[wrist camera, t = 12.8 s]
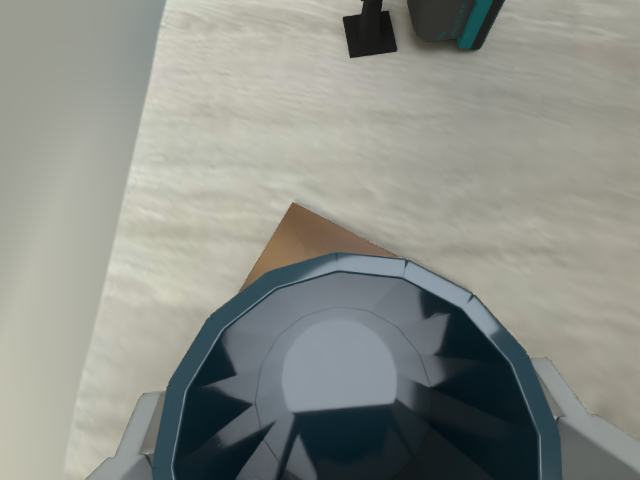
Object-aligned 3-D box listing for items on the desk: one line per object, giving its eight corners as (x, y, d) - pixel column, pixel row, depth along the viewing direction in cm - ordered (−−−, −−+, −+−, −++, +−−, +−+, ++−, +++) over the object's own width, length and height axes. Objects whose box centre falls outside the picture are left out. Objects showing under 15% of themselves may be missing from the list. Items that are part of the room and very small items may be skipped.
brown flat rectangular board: (293, 203, 28) (292, 201, 27) (468, 294, 26) (470, 294, 25) (153, 437, 24) (150, 439, 24) (342, 563, 22) (343, 566, 22)
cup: (306, 267, 16) (283, 193, 8) (468, 355, 15) (621, 369, 7) (213, 432, 14) (71, 539, 6) (384, 541, 13) (459, 823, 5)
